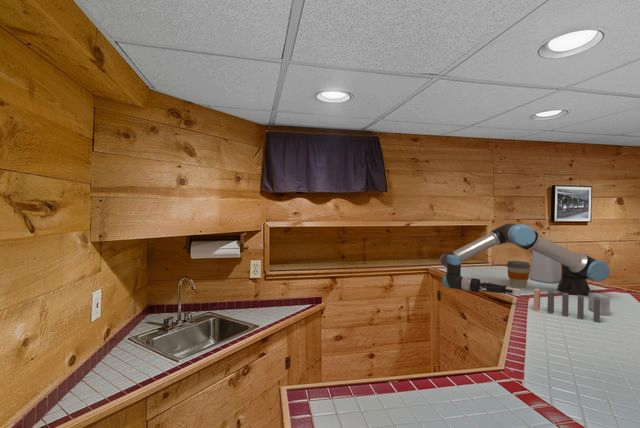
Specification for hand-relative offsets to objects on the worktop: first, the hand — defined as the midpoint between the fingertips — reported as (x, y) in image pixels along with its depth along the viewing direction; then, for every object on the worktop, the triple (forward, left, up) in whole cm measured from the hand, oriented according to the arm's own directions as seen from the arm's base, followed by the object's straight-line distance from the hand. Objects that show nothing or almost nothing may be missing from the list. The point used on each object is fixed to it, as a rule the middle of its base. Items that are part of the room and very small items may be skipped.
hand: (520, 292), depth 156 cm
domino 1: (+5, +11, -8) cm, 15 cm away
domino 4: (+12, +26, -8) cm, 30 cm away
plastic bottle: (-67, +34, -8) cm, 75 cm away
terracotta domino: (+3, +6, -8) cm, 10 cm away
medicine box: (-1, +33, -8) cm, 34 cm away
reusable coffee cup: (-47, +12, -8) cm, 49 cm away
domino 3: (+10, +21, -8) cm, 25 cm away
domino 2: (+8, +16, -8) cm, 20 cm away
